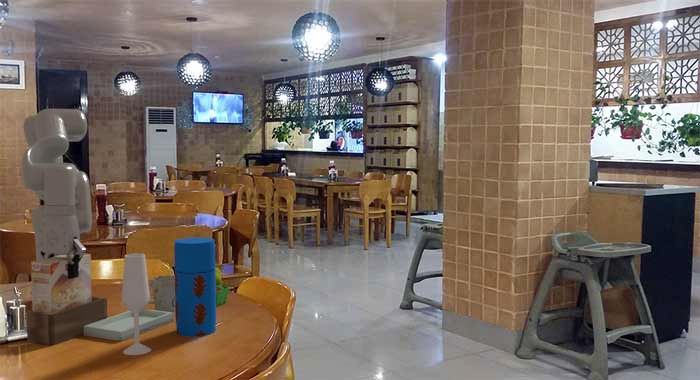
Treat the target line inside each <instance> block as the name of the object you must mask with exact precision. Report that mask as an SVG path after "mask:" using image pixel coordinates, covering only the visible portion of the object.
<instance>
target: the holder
mask: <svg viewBox="0 0 700 380" xmlns="http://www.w3.org/2000/svg"><path fill="white" fill-rule="evenodd" d="M107 303H108V298H107V297H101V296H92V302H88V303H85V304H82V305H78V306H75V307H71V308H68V309H65V310H61V311H58V312H55V313H51V314H50V313H44V312H37V311H33V310H26V311H25V312H26V313H25V315H26V336H27V337H26V338H27V340H26V341H27V343H32V344H38V345H45V346H50V347H52V346H55V345H58V344H60V343H61V344H62V343H64V342H67V341H70V340H73V339H75V338H76V339H77V338H78V337H80V336H85V335H84V326H85V325H88V324H91V323H94V322H97V321H100V320H103V319H106V318H108V304H107Z"/></svg>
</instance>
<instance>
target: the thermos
mask: <svg viewBox="0 0 700 380" xmlns="http://www.w3.org/2000/svg"><path fill="white" fill-rule="evenodd" d="M173 248H174V249H173V251H174V254H173V255H174V276H175V311H174V312H175V325H176V326H175V327H176V334H177V335H179V336H182V337H189V338H192V337H204V336H207V335H208V336H209V335H211V334H213V333H215V332H216V330H217V328H216V327H217V306H216V269H215V268H216V267H217V266H216V242H215V239H214V238H209V237H187V238H186V237H184V238H180V239H179V238H178V239H176V240H175V241H174V247H173Z"/></svg>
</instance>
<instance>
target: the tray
mask: <svg viewBox="0 0 700 380" xmlns="http://www.w3.org/2000/svg"><path fill="white" fill-rule="evenodd" d="M171 322H172V323H173V322H174V311H173V312H165V311H157V310H156V309H150V308H149V309H148V308H143V309H142V310H141V311H140V312H139V335H141V334H145V333H147V332H150V331H151V330H155V329H157V328H159V327H162V326H165V325H167V324H170V323H171ZM83 336H87V337H93V338H99V339H106V340H111V341H112V340H113V341H118V342H123V341H126V340H128V339H132V338H134V313H133V312H131V311H130V310H128V311H125V312H121V313H118V314H116V315H113V316H110V317H107V318H106V319H103V320H100V321H97V322H94V323H91V324H88V325H85V326H84V335H83Z"/></svg>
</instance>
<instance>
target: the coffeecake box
mask: <svg viewBox="0 0 700 380" xmlns="http://www.w3.org/2000/svg"><path fill="white" fill-rule="evenodd" d="M73 257H74V256H73V255H72V258H73ZM68 264H70V263H69V261H68V258H67V256H66V255H60V256H55V257H51V258H46V259H41V260H33V261H30V267H31V268H30V270H31V275H30V277H31V291H32V295H31V298H32V299H31V300H32V301H31V302H32V307H31V308H32V311H37V312H44V313H50V314H51V313H55V312H58V311H61V310H65V309H68V308H71V307H75V306H78V305H82V304H85V303H88V302H92V294H93V293H92V256H91V254H90V253H84V255H83V257H82V258H81V260H80V262H79V263H78V265H79V277H76V278H73V279H68Z"/></svg>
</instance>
